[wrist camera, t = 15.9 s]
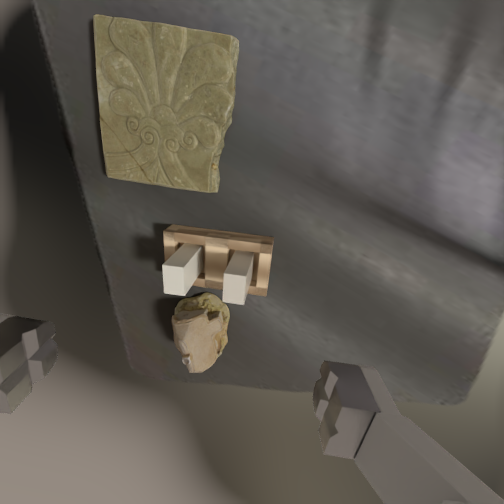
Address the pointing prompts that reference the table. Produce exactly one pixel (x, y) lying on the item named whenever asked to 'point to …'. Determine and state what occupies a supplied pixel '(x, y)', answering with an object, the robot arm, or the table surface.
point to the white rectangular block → (182, 269)
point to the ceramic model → (200, 330)
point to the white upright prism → (238, 277)
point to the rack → (222, 254)
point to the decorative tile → (164, 101)
